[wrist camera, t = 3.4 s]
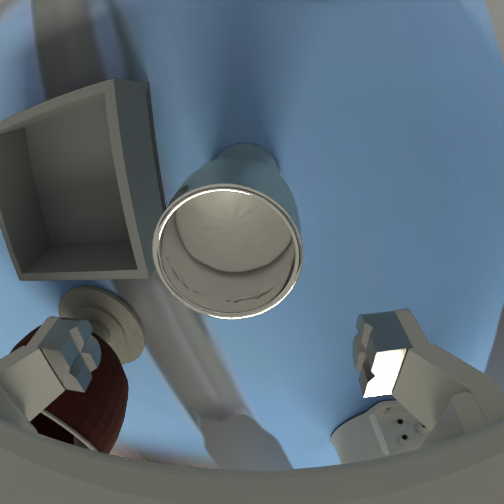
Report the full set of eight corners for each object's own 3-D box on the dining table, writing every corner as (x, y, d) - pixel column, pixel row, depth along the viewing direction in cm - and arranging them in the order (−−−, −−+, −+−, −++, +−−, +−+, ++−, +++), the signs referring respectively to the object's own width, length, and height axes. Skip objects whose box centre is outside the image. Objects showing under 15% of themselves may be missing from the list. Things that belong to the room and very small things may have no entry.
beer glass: (200, 141, 25) (132, 187, 12) (283, 135, 25) (308, 173, 11) (209, 217, 28) (165, 324, 15) (286, 212, 28) (307, 320, 15)
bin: (149, 82, 23) (113, 78, 17) (172, 240, 30) (149, 278, 23) (25, 121, 24) (-21, 132, 17) (54, 249, 30) (19, 280, 24)
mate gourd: (53, 333, 37) (-13, 440, 19) (63, 259, 31) (-43, 382, 13) (146, 382, 40) (108, 506, 22) (179, 321, 34) (130, 485, 16)
